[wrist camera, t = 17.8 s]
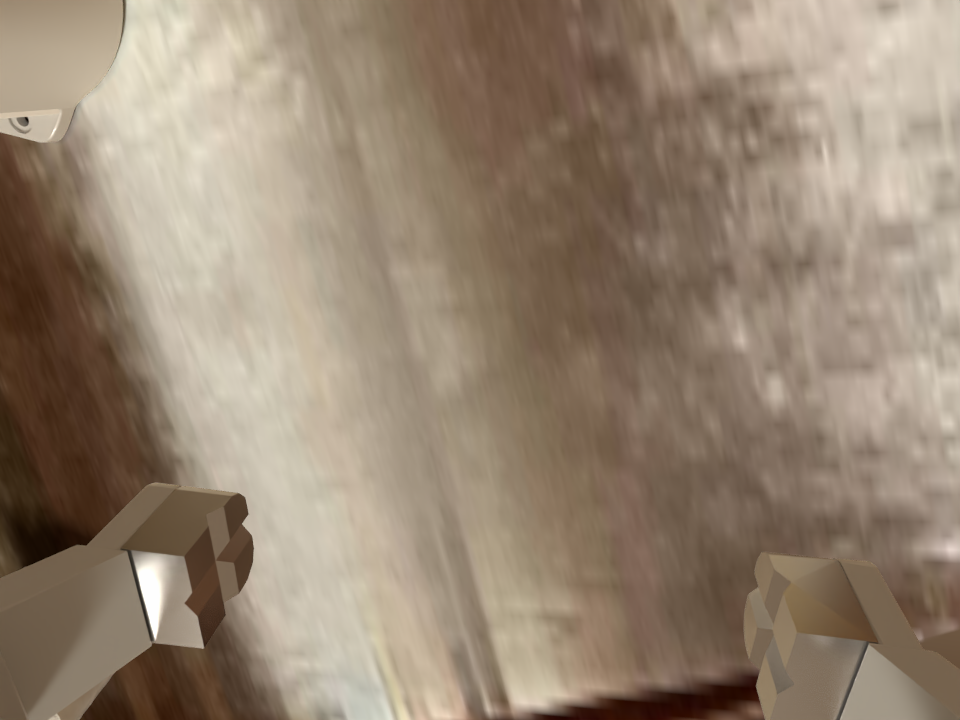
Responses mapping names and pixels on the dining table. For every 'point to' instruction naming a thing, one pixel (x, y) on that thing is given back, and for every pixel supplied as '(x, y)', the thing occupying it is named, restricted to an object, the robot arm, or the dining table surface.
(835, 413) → the dining table surface
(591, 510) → the dining table surface
